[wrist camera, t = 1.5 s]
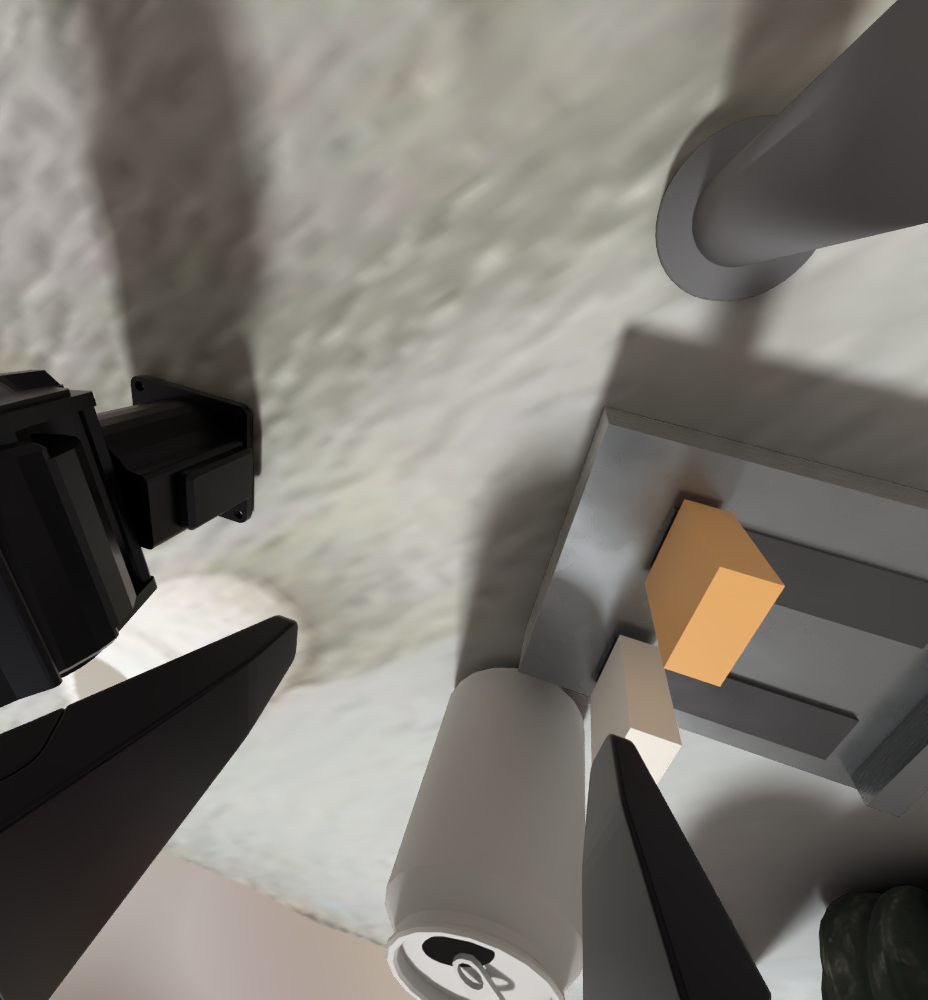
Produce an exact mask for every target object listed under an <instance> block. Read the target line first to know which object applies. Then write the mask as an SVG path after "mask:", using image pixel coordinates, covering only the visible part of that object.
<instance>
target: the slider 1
mask: <svg viewBox="0 0 928 1000" xmlns="http://www.w3.org/2000/svg"><path fill="white" fill-rule="evenodd" d="M590 704H591V751H592V764H593V761H594V759H595V757H596V755H597V753H598V751H599V750H600V748H601V746H602V744H603V742H604V740H605V738H606V737H607V736H608V735H609V734H614V735H617V736H620V737H623V738H625V739H628V740H630V741H632V742H633V744H634V745H635V746H636V748H637V750H638V752H639V754H640V755H641V757H642V759H643V761H644V763H645V765H646V766H647V768H648V770H649V772H650V774H651V776H652V777H653V779H654V781H655V783H656V785H657V784H658V782H659V781H660V779H661V777H662V776H663V774H664V773H665V771H666V770H667V768H668V767H669V765H670V764H671V762H672V760H673V759H674V757H675V756H676V754H677V753H678V751H679V750H680V748H681V746H682V743H681V739H680V735H679V730H678V726H677V721H676V717H675V713H674V708H673V704H672V699H671V695H670V691H669V686H668V682H667V677H666V673H665V668H663V663H662V659H661V654H660V650H659V647H657V646H653V645H650V644H647V643H644V642H641V641H638V640H635V639H632V638H629V637H626V636H623V635H619V637H618V639H617V642H616V644H615V646H614V648H613V650H612V652H611V654H610V656H609V658H608V660H607V663H606V665H605V667H604V669H603V671H602V673H601V675H600V677H599V679H598V681H597V683H596V686H595V688H594V690H593V692H592V694H591V696H590Z"/></svg>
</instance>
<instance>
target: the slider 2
mask: <svg viewBox="0 0 928 1000" xmlns="http://www.w3.org/2000/svg"><path fill="white" fill-rule="evenodd" d="M784 587H785V585H784V584H783V583H782V581H781V580H780V578H779V577H778V576H777V574H776V573H775V571H774V570H773V569H772V567H771V566H770V565H769V563H768V562H767V560H766V559H765V558H764V556H763V555H762V553H761V552H760V551H759V549H758V548H757V546H756V545H755V544H754V542H753V541H752V540H751V538H750V537H749V535H748V534H747V533H746V531H745V530H744V528H743V527H742V526H741V524H740V523H739V522H738V520H737V519H736V517H735V516H734V515H733V513H732V512H728V511H725V510H721V509H718V508H714V507H711V506H707V505H704V504H700V503H696V502H693V501H689V500H686V499H684V501H683V503H682V505H681V507H680V509H679V511H678V514H677V516H676V518H675V520H674V522H673V524H672V526H671V528H670V530H669V532H668V535H667V537H666V539H665V541H664V543H663V545H662V547H661V549H660V551H659V553H658V556H657V558H656V560H655V562H654V564H653V566H652V568H651V570H650V572H649V574H648V576H647V579H646V581H645V588H646V592H647V596H648V601H649V605H650V610H651V614H652V619H653V623H654V628H655V632H656V636H657V641H658V645H659V650H660V654H661V659H662V663H663V668H665V669H668V670H671V671H674V672H677V673H680V674H683V675H686V676H689V677H692V678H695V679H698V680H701V681H704V682H707V683H710V684H713V685H716V686H719V687H720V686H721V685H722V683H723V682H724V680H725V678H726V677H727V675H728V674H729V672H730V671H731V669H732V668H733V666H734V664H735V663H736V661H737V660H738V658H739V657H740V655H741V654H742V652H743V651H744V649H745V647H746V646H747V644H748V643H749V641H750V640H751V638H752V637H753V635H754V634H755V632H756V630H757V629H758V627H759V626H760V624H761V623H762V621H763V620H764V618H765V617H766V615H767V613H768V612H769V610H770V609H771V607H772V606H773V604H774V603H775V601H776V600H777V598H778V596H779V595H780V593H781V592H782V590H783V589H784Z"/></svg>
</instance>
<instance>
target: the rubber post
mask: <svg viewBox="0 0 928 1000" xmlns="http://www.w3.org/2000/svg"><path fill="white" fill-rule="evenodd" d="M924 223H928V0H897V1H896V2H895V3H894V4H893V5H892V6H891V7H890V8H889V9H888V10H887V11H886V12H885V13H884V14H883V15H882V16H881V17H880V18H879V19H877V20H876V21H875V22H874V23H873V24H872V25H871V26H870V27H869V28H868V29H867V30H866V31H865V32H864V33H863V34H862V35H861V36H860V37H859V38H858V39H857V40H856V41H855V42H854V43H853V44H852V45H851V46H849V47H848V48H847V49H846V50H845V51H844V52H843V53H842V54H841V55H840V56H839V57H838V58H837V59H836V60H835V61H834V62H833V63H832V64H831V65H830V66H829V67H828V68H827V69H826V70H825V71H824V72H822V73H821V74H820V75H819V76H818V77H817V78H816V79H815V80H814V81H813V82H812V83H811V84H810V85H809V86H808V87H807V88H806V89H805V90H804V91H803V92H802V93H801V94H800V95H799V96H798V97H797V98H796V99H794V100H793V101H792V102H791V103H790V104H789V105H788V106H787V107H786V108H785V109H784V110H783V111H782V112H781V113H780V114H779V115H778V116H775V115H769V116H758V117H753V118H748V119H745V120H742V121H739V122H736V123H734V124H732V125H730V126H727V127H725V128H723V129H722V130H720V131H719V132H717V133H715V134H714V135H712V136H711V137H710V138H708V139H707V140H706V141H705V142H703V143H702V144H701V145H700V146H699V147H698V148H697V149H696V150H695V151H694V152H693V153H692V154H691V155H690V156H689V157H688V159H687V160H686V161H685V162H684V163H683V165H682V166H681V167H680V169H679V170H678V172H677V173H676V175H675V176H674V178H673V179H672V181H671V182H670V184H669V186H668V188H667V190H666V192H665V194H664V197H663V199H662V202H661V204H660V208H659V212H658V216H657V222H656V247H657V252H658V256H659V259H660V262H661V264H662V266H663V268H664V270H665V272H666V274H667V275H668V276H669V278H670V279H671V280H672V281H673V282H674V283H675V284H676V285H677V286H678V287H679V288H681V289H682V290H684V291H685V292H687V293H689V294H691V295H693V296H695V297H699V298H702V299H707V300H716V301H729V300H739V299H744V298H748V297H752V296H755V295H758V294H761V293H763V292H765V291H767V290H769V289H771V288H773V287H775V286H777V285H778V284H780V283H781V282H783V281H785V280H786V279H787V278H788V277H790V276H791V275H792V274H794V273H795V272H796V271H797V270H798V269H799V268H800V267H801V266H802V265H803V264H804V263H805V262H806V261H807V260H808V259H809V257H810V256H811V255H812V254H813V253H814V251H815V250H816V249H818V248H822V247H827V246H831V245H835V244H839V243H844V242H848V241H852V240H856V239H860V238H865V237H869V236H873V235H877V234H882V233H886V232H890V231H894V230H899V229H903V228H907V227H911V226H916V225H920V224H924Z"/></svg>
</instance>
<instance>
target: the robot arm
mask: <svg viewBox="0 0 928 1000" xmlns="http://www.w3.org/2000/svg"><path fill="white" fill-rule="evenodd" d="M142 384H143V386H144V388H143V386H142ZM131 391H132V400H133V406H129V407H125V408H120V409H116V410H111V411H107V412H103V413H98V414H96V411H95V409H94V406H96V402H95V399H94V396H93V393H92V391H78V390H69V389H68V388H64V386H63V385H61V384H59V383H58V382H57V381H56V380H55V379H54V378H52V377H51V376H50V375H49V374H48V373H47V372H46V371H45V370H27V371H19V372H10V373H2V374H0V707H3V706H5V705H7V704H10V703H12V702H14V701H16V700H19V699H22V698H25V697H28V696H31V695H34V694H37V693H40V692H43V691H46V690H49V689H52V688H55V687H57V686H58V685H60V684H61V683H62V677H65V676H67V675H69V674H70V673H72V672H74V671H76V670H77V669H79V668H81V667H82V666H84V665H85V664H87V663H88V662H89V661H91V660H92V659H94V658H95V657H96V656H97V655H98V654H99V653H100V652H101V651H102V650H103V649H104V648H106V647H107V646H108V645H110V644H111V643H112V642H113V641H114V640H115V639H116V638H117V636H118V635H119V631H120V630H121V629H122V627H123V626H124V625H125V624H126V623H127V622H128V621H129V619H130V618H131V617H132V616H133V615H134V614H135V613H136V612H137V610H138V609H139V608H140V607H141V606H142V605H143V604H144V602H145V601H146V600H147V599H148V598H149V597H150V596H151V595H152V593H153V592H154V591H155V590H156V589H157V585H156V582H155V579H154V576H151V575H150V572H149V569H148V566H147V563H146V560H145V557H144V554H143V551H142V548H141V547H143V548H146V549H153V548H155V547H156V546H158V545H160V544H162V543H163V542H165V541H167V540H169V539H170V538H172V537H174V536H176V535H177V534H179V533H181V532H183V531H184V530H186V529H189V530H194V529H196V528H198V527H200V526H201V525H203V524H205V523H206V522H208V521H210V520H212V519H213V518H215V517H217V516H221V517H224V518H227V519H230V520H233V521H236V522H239V523H243V522H245V521H247V520H248V519H250V518H251V515H252V494H253V452H252V429H253V416H252V412H251V410H250V408H249V407H248V406H246V405H244V404H242V403H238V402H235V401H231V400H228V399H224V398H221V397H218V396H214V395H211V394H207V393H204V392H201V391H197V390H194V389H190V388H187V387H184V386H180V385H177V384H173V383H170V382H167V381H163V380H160V379H156V378H153V377H150V376H146V375H140V376H135V377H133V378H132V379H131ZM239 411H240V412H241V414H242V416H243V418H241V417H240V415H239ZM240 511H241V513H242V514H241V513H240ZM297 632H298V624H297V622H296V621H295V620H292V619H289V618H286V617H284V616H280V615H277V616H273V617H271V618H269V619H266V620H264V621H262V622H259V623H257V624H255V625H252V626H250V627H248V628H246V629H243V630H241V631H239V632H236V633H234V634H232V635H229V636H227V637H225V638H222V639H220V640H218V641H216V642H213V643H211V644H209V645H206V646H204V647H202V648H199V649H197V650H195V651H193V652H190V653H188V654H186V655H183V656H181V657H179V658H176V659H174V660H172V661H169V662H167V663H165V664H163V665H160V666H158V667H156V668H153V669H151V670H149V671H146V672H144V673H142V674H139V675H137V676H135V677H133V678H130V679H128V680H126V681H124V682H121V683H119V684H116V685H114V686H112V687H110V688H107V689H105V690H103V691H100V692H98V693H96V694H93V695H91V696H89V697H87V698H84V699H82V700H80V701H77V702H75V703H73V704H70V705H68V706H67V707H66V709H63V708H61V709H58V710H56V711H54V712H51V713H49V714H47V715H45V716H42V717H40V718H38V719H35V720H33V721H31V722H28V723H26V724H23V725H21V726H19V727H16V728H14V729H11V730H9V731H7V732H4V733H2V734H0V1000H49V998H50V997H51V996H52V994H53V993H54V992H55V990H56V989H57V988H58V986H59V985H60V984H61V982H62V981H63V979H64V978H65V977H66V976H67V974H68V973H69V972H70V970H71V969H72V968H73V966H74V965H75V964H76V962H77V961H78V960H79V958H80V957H81V956H82V954H83V953H84V952H85V951H86V949H87V948H88V946H89V945H90V944H91V943H92V941H93V940H94V939H95V937H96V936H97V934H98V933H99V932H100V931H101V929H102V928H103V927H104V925H105V924H106V923H107V921H108V920H109V919H110V917H111V916H112V915H113V913H114V912H115V911H116V909H117V908H118V907H119V906H120V904H121V903H122V902H123V900H124V899H125V898H126V896H127V895H128V894H129V892H130V891H131V890H132V888H133V887H134V886H135V884H136V883H137V881H138V880H139V879H140V878H141V876H142V875H143V874H144V872H145V871H146V870H147V868H148V867H149V866H150V864H151V863H152V861H153V860H154V859H155V858H156V856H157V855H158V854H159V852H160V851H161V850H162V849H163V847H164V846H165V845H166V843H167V842H168V841H169V839H170V838H171V837H172V835H173V834H174V833H175V831H176V830H177V829H178V827H179V826H180V825H181V823H182V822H183V821H184V819H185V818H186V817H187V815H188V814H189V813H190V811H191V810H192V809H193V807H194V806H195V805H196V804H197V802H198V801H199V800H200V798H201V797H202V796H203V794H204V793H205V792H206V790H207V789H208V788H209V786H210V785H211V784H212V782H213V781H214V780H215V778H216V777H217V776H218V774H219V773H220V772H221V770H222V769H223V768H224V766H225V765H226V764H227V762H228V761H229V760H230V758H231V757H232V756H233V754H234V753H235V752H236V751H237V749H238V748H239V747H240V745H241V744H242V742H243V741H244V740H245V738H246V737H247V735H248V734H249V732H250V731H251V729H252V728H253V726H254V725H255V723H256V721H257V720H258V718H259V716H260V715H261V713H262V712H263V710H264V708H265V707H266V705H267V703H268V702H269V700H270V698H271V697H272V695H273V693H274V692H275V690H276V689H277V687H278V685H279V684H280V682H281V680H282V679H283V677H284V675H285V674H286V672H287V671H288V669H289V667H290V666H291V664H292V662H293V660H294V657H295V654H296V646H297ZM582 938H583V1000H771V992H770V991H769V989H768V987H767V985H766V983H765V981H764V980H763V978H762V976H761V974H760V972H759V970H758V969H757V967H756V965H755V963H754V961H753V960H752V958H751V956H750V954H749V952H748V950H747V949H746V947H745V945H744V943H743V941H742V940H741V938H740V936H739V934H738V932H737V930H736V929H735V927H734V925H733V923H732V921H731V919H730V918H729V916H728V914H727V912H726V910H725V909H724V907H723V905H722V903H721V901H720V899H719V898H718V896H717V894H716V892H715V890H714V888H713V887H712V885H711V883H710V881H709V879H708V878H707V876H706V874H705V872H704V870H703V868H702V867H701V865H700V863H699V861H698V859H697V858H696V856H695V854H694V852H693V850H692V848H691V847H690V845H689V843H688V841H687V839H686V837H685V836H684V834H683V832H682V830H681V828H680V827H679V825H678V823H677V821H676V819H675V817H674V816H673V814H672V812H671V810H670V808H669V806H668V805H667V803H666V801H665V799H664V797H663V796H662V794H661V792H660V790H659V788H658V786H657V785H656V783H655V781H654V779H653V777H652V776H651V774H650V772H649V770H648V768H647V766H646V765H645V763H644V761H643V759H642V757H641V755H640V754H639V752H638V750H637V748H636V746H635V745H634V744H633V742H632V741H630V740H628V739H625V738H623V737H620V736H617V735H614V734H609V735H608V736H607V737H606V738H605V740H604V742H603V744H602V746H601V748H600V750H599V751H598V753H597V755H596V757H595V759H594V761H593V764H592V767H591V772H590V781H589V792H588V803H587V815H586V826H585V837H584V848H583V861H582Z"/></svg>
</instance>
